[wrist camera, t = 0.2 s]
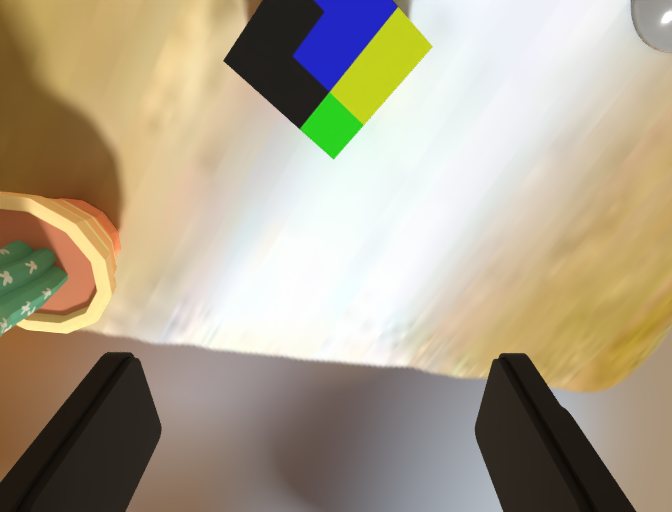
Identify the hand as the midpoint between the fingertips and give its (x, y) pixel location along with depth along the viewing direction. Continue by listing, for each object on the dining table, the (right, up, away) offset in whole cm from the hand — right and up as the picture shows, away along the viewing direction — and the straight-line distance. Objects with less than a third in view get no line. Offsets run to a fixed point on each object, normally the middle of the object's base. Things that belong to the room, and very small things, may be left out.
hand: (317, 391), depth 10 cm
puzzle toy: (0, +22, +24) cm, 32 cm away
